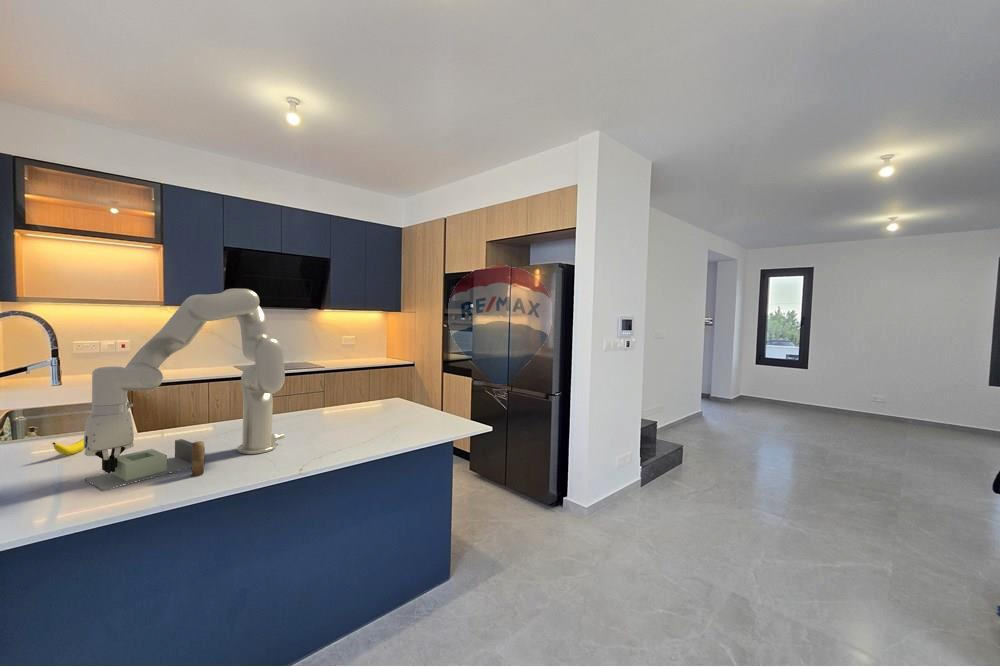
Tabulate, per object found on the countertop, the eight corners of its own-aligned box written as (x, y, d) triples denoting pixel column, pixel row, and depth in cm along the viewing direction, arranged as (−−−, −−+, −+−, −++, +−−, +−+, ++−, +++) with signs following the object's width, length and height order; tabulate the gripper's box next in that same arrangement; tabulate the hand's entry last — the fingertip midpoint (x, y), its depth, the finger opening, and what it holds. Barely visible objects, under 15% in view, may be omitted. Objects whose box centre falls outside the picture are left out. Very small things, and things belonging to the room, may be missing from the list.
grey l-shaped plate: (181, 455, 145) (181, 438, 144) (204, 465, 137) (204, 447, 137) (83, 479, 123) (83, 459, 122) (104, 491, 115) (104, 470, 115)
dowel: (200, 471, 132) (200, 440, 131) (205, 474, 130) (205, 442, 130) (189, 474, 129) (190, 443, 129) (194, 477, 128) (195, 445, 127)
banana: (102, 443, 153) (102, 426, 153) (58, 462, 135) (58, 442, 134) (93, 443, 153) (93, 426, 152) (47, 462, 134) (47, 442, 134)
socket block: (151, 464, 135) (151, 448, 135) (166, 470, 130) (166, 455, 130) (111, 473, 126) (111, 457, 126) (126, 481, 121) (126, 464, 121)
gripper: (136, 403, 130) (135, 461, 130) (69, 412, 116) (69, 476, 117) (147, 406, 126) (146, 466, 127) (79, 416, 113) (79, 482, 114)
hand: (109, 471), depth 122 cm, fingers closed
